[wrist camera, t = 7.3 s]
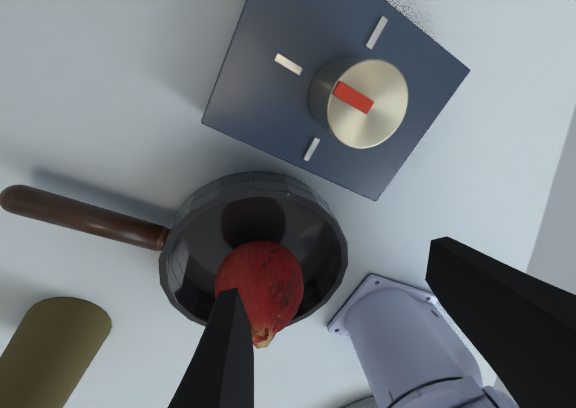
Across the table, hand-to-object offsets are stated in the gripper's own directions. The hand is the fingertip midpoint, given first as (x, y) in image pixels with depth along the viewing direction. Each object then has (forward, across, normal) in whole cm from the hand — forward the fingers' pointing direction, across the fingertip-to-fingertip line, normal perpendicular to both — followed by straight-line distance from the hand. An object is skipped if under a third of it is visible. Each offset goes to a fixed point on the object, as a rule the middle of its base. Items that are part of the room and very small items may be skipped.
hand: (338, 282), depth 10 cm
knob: (+8, -3, -5) cm, 10 cm away
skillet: (+10, +4, +6) cm, 12 cm away
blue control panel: (+10, -3, -5) cm, 12 cm away
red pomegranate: (+10, +4, +6) cm, 12 cm away
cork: (+11, +20, +9) cm, 24 cm away
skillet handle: (+9, +12, -1) cm, 15 cm away
